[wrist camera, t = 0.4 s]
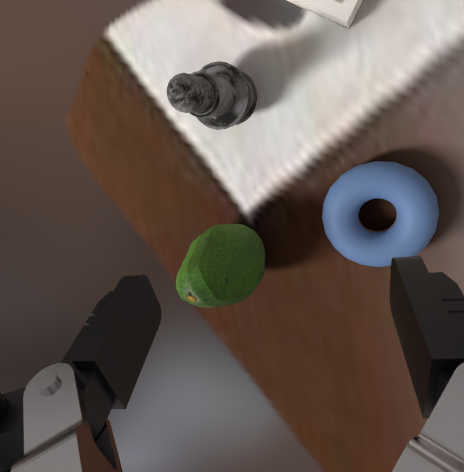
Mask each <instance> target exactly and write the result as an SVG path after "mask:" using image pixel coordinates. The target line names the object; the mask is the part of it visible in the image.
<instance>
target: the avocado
mask: <svg viewBox="0 0 464 472" xmlns="http://www.w3.org/2000/svg"><path fill="white" fill-rule="evenodd" d="M264 271H265V250H264V246H263V242H262V240H261V238H260V237H259V236H258V234H257V233H256V232H255V230H253V229H251V228H249V227H247V226H245V225H242V224H219V225H216V226H214V227H212V228H209V229H208V230H206V231H205V232H204V233H203V234H201V235H200V236H199V237H198V238H197V239H195V240H194V241H193V242H192V243H191V246H190V248H189V250H188V253H187V255H186V257H185V259H184V262H183V264H182V266H181V268H180V270H179V272H178V275H177V280H176V289H177V291H178V293H179V295H180V297H181V299H182V300H185V301H187V302H189V303H191V304H193V305H196V306H198V307H208V308H209V307H220V306H229V305H232V304H235V303H238V302H241V301H243V300H245V299H246V298H247V297H248V296H250V295H251V294H252V292H253V291H254V290H255V288H256V287H257V286H258V284H259V282H260V281H261V279H262V278H263V275H264Z"/></svg>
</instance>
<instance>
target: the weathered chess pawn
mask: <svg viewBox="0 0 464 472" xmlns="http://www.w3.org/2000/svg"><path fill="white" fill-rule="evenodd" d="M167 96H168V100H169V102H170V104H171V105H172V106H173V107H174V108H175V109H176V110H178V111H180V112H184V113H190V114H192V115H194V116H196V117H197V118H198V120H199V121H200V122H201V123H203V124H204V125H205V126H207V127H209V128H212V129H217V130H219V129H226V128H229V127H231V126H233V125H238V124H240V123H242V122H244V121H245V120H247V119H248V118H249V117H250V115H251V114H252V113H253V111H254V108H255V106H256V100H257V95H256V89H255V86H254V83H253V82H252V80H251V78H250V77H249V76H248V75H246V74H245V73H244V72H242V71H239V70H238V69H237V68H235V67H234V66H233V65H230V64H228V63H226V62H213V63H210V64H208V65H206V66H204V67H203V68H202V69H201V70H200V71H198V72H194V73H192V74H186V73H181V74H177V75H176V76H174V77H173V78H172V79H171V80H170V82H169V84H168V87H167Z"/></svg>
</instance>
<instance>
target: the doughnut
mask: <svg viewBox="0 0 464 472" xmlns="http://www.w3.org/2000/svg"><path fill="white" fill-rule="evenodd" d="M376 198H379V199H385V200H387V201H390V202H391V203H392V204H393V205H394V207H395V208H396V212H397V216H396V220H395V222H394V224H393V225H391V226H390V227H389V228H387V229H385V230H381V231H373V230H370V229H367V228H366V227H364V226H363V225H362V224H361V222H360V220H359V210H360V208H361V206H362V205H363V204H364V203H365V202H367V201H369V200H371V199H376ZM438 217H439V209H438V203H437V197H436V194H435V193H434V191H433V189H432V188H431V186H430V184H429V183H428V181H427V180H426V179H425V178H424V177H422V176H421V175H420V174H419V173H417V172H416V171H415V170H414V169H412V168H410V167H407V166H404V165H402V164H399V163H396V162H384V161H374V162H370V163H366V164H362V165H358V166H356V167H354V168H352V169H351V170H349V171H347V172H346V173H344V174H342V175H341V176H340V177H339V178H338V180H337V181H336V182H335V183H334V184H333V185H332V186H331V187H330V189H329V191H328V194H327V196H326V198H325V200H324V203H323V213H322V220H323V225H324V229H325V233H326V235H327V237H328V239H329V240H330V242H331V243H332V245H333V247H334V248H335V249H336V250H338V251H339V252H340V253H341V254H342V255H343V256H345V257H346V258H348V259H350V260H352V261H354V262H357V263H359V264H361V265H367V266H374V267H383V266H391V260H392V258H397V257H411V256H415V255H417V254H418V253H419V252H420V251H421V250H423V249H424V248H425V247H426V246H427V244H428V243H429V241H430V240H431V238H432V236H433V235H434V233H435V231H436V227H437V222H438Z"/></svg>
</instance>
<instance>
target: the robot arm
mask: <svg viewBox="0 0 464 472" xmlns="http://www.w3.org/2000/svg"><path fill="white" fill-rule="evenodd" d="M390 306H391V312H392V316H393V320H394V323H395V326H396V330H397V333H398V336H399V340H400V343H401V346H402V350H403V353H404V356H405V360H406V363H407V366H408V370H409V373H410V376H411V380H412V383H413V386H414V390H415V393H416V396H417V400H418V403H419V406H420V410H421V413H422V416H423V418H429V419H428V420H427V422H426V424H425V426H424V428H423V429H422V431H421V433H420V434H419V436H418V437H417V438H416V437H414V438H412V439H411V441H410V442H409V443H408V445H407V446H406V448H405V450H404V451H403V453H402V455H401V457H400V459H399V460H398V462H397V464H396V466H395V467H394V469H393V471H392V472H464V295H463V293H462V292H461V290H460V288H459V286H458V284H457V283H455V282H454V281H453V280H452V279H450V278H449V277H448V276H447V275H445V274H444V273H443V272H436V273H429V272H428V270H427V268H426V266H425V264H424V262H423V260H422V258H421V257H420V256H411V257H397V258H392V260H391V277H390ZM160 321H161V308H160V304H159V302H158V300H157V298H156V295H155V293H154V291H153V288H152V286H151V284H150V281H149V280H148V277H147V276H146V275H132V276H124V277H122V278H121V279H120V281H119V283H118V284H117V286H116V288H115V289H114V291H110V292H109V293H108V294H107V295H106V296H105V297H103V298H102V299H101V300H100V301H99V302H98V304H97V305H96V307H95V309H94V310H93V312H92V313H91V316H90V317H89V318H88V320H87V321H86V323H85V326H83V328H82V329H81V331H80V332H79V334H78V336H77V337H76V339H75V340H74V342H73V344H72V345H71V347H70V349H69V350H68V352H67V353H66V355H65V356H64V358H63V360H62V361H61V363H58V364H54V365H51V366H49V367H47V368H45V369H43V370H42V371H41V372H39V373H38V374H37V375H36V376H35V377H34V378H33V379H32V380H31V381H30V382H29V384H28V385H27V387H25V388H21V389H18V390H15V391H12V392H9V393H5V394H2V393H1V392H0V472H123V471H122V466H121V462H120V458H119V455H118V451H117V447H116V443H115V439H114V435H113V431H112V427H111V423H110V421H109V420H108V415H109V413H110V411H111V409H126V406H127V404H128V402H129V399H130V397H131V394H132V392H133V389H134V387H135V384H136V382H137V379H138V377H139V374H140V372H141V369H142V367H143V364H144V362H145V360H146V357H147V354H148V352H149V350H150V347H151V345H152V342H153V340H154V337H155V335H156V332H157V330H158V327H159V325H160Z"/></svg>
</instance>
